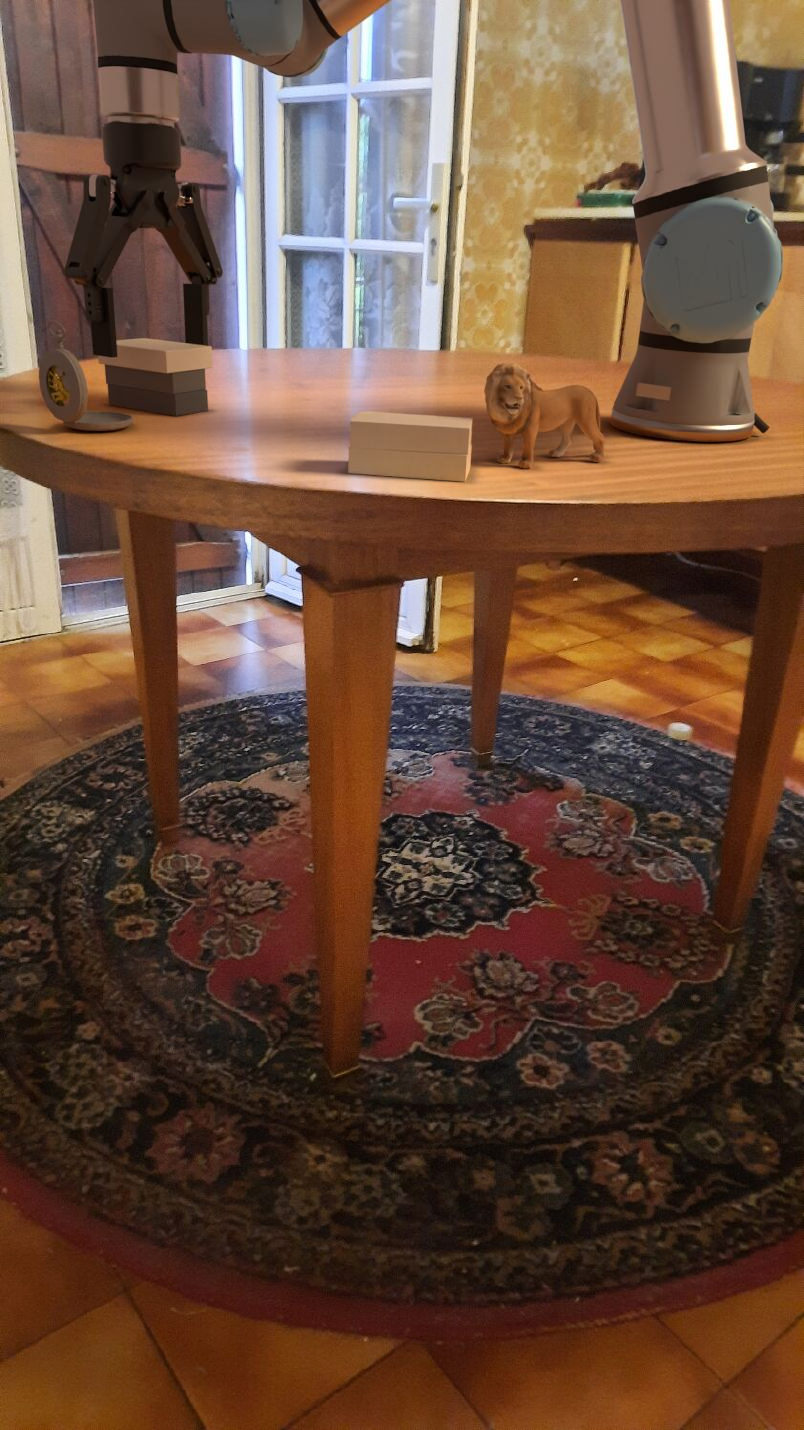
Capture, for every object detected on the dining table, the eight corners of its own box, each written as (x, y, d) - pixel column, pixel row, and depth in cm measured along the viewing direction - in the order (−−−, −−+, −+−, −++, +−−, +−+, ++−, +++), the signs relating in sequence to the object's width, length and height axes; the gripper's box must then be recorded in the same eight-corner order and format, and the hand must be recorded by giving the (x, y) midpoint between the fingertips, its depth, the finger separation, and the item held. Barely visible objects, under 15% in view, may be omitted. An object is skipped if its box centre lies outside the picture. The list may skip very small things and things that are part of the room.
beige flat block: (212, 367, 110) (212, 346, 109) (167, 373, 105) (165, 351, 104) (145, 358, 115) (144, 338, 114) (98, 363, 109) (96, 342, 108)
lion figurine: (504, 476, 88) (513, 367, 84) (464, 464, 92) (471, 359, 88) (619, 460, 96) (632, 360, 92) (578, 450, 100) (589, 353, 96)
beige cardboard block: (471, 469, 90) (474, 418, 88) (466, 482, 85) (469, 428, 83) (358, 460, 91) (359, 410, 89) (346, 473, 86) (347, 420, 84)
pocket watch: (142, 423, 103) (135, 317, 99) (113, 439, 95) (104, 325, 91) (63, 419, 103) (53, 313, 99) (28, 434, 96) (15, 320, 92)
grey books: (208, 410, 111) (206, 368, 109) (176, 416, 107) (173, 372, 106) (140, 399, 116) (137, 359, 114) (107, 404, 112) (104, 362, 110)
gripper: (199, 135, 111) (205, 340, 121) (10, 109, 92) (35, 356, 101) (252, 135, 108) (255, 347, 117) (67, 108, 89) (88, 364, 98)
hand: (153, 351), depth 109 cm, fingers open, 13 cm apart
